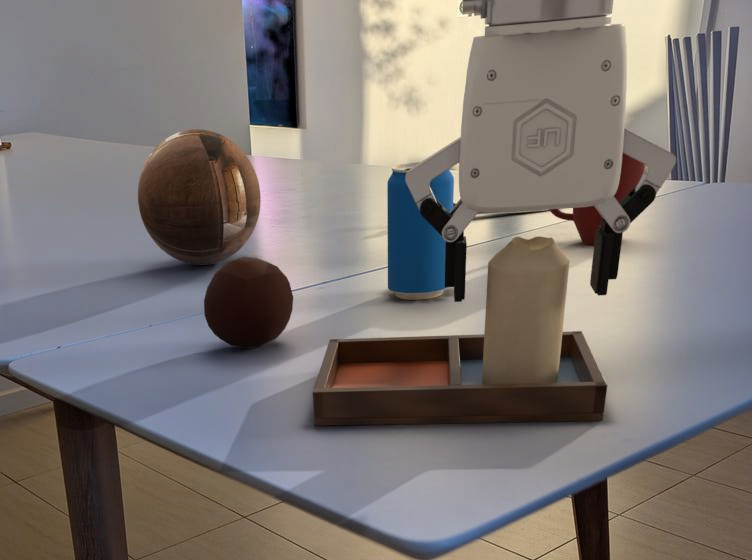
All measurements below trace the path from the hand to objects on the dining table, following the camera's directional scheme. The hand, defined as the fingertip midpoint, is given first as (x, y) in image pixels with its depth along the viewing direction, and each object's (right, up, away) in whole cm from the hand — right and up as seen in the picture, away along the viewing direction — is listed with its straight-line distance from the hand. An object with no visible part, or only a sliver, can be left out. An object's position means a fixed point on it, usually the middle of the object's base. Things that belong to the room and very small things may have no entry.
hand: (527, 294), depth 65 cm
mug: (+20, +23, +45) cm, 55 cm away
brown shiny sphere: (-27, +23, +51) cm, 62 cm away
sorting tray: (-4, -6, +5) cm, 9 cm away
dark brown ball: (-20, +2, +19) cm, 28 cm away
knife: (+11, +35, +65) cm, 74 cm away
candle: (0, -5, +4) cm, 7 cm away
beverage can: (-3, +11, +31) cm, 33 cm away
